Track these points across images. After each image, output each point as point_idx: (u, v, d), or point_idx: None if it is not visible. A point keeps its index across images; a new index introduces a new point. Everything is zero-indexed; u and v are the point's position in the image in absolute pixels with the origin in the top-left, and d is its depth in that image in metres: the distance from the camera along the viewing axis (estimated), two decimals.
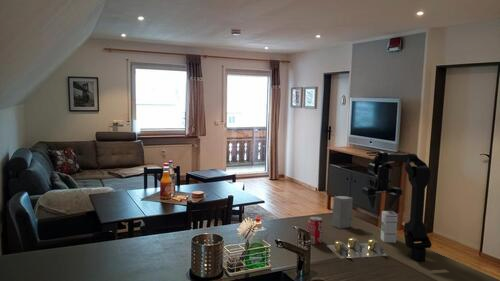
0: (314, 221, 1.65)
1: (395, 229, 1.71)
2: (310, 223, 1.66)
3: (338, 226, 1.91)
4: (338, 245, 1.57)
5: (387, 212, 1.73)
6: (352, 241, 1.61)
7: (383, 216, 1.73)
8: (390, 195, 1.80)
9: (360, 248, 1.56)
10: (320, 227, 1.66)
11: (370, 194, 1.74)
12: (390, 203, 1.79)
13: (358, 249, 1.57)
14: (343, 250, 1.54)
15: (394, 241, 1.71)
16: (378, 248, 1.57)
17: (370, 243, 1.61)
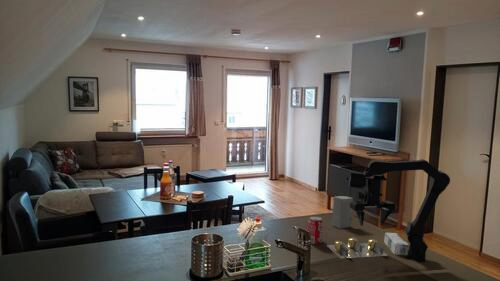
0: (314, 221, 1.65)
1: None
2: (310, 223, 1.66)
3: (338, 226, 1.91)
4: (338, 245, 1.57)
5: (399, 250, 1.57)
6: (352, 241, 1.61)
7: (393, 248, 1.59)
8: (382, 210, 1.58)
9: (360, 248, 1.56)
10: (320, 227, 1.66)
11: (358, 209, 1.52)
12: (382, 219, 1.57)
13: (358, 249, 1.57)
14: (343, 250, 1.54)
15: None
16: (378, 248, 1.57)
17: (370, 243, 1.61)
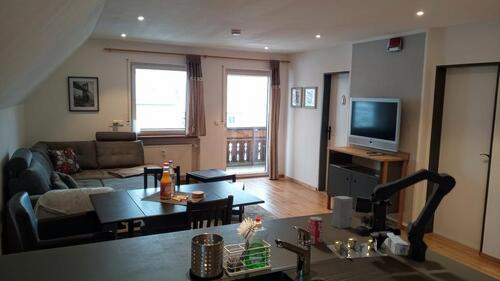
0: (314, 221, 1.65)
1: None
2: (310, 223, 1.66)
3: (338, 226, 1.91)
4: (338, 245, 1.57)
5: (399, 250, 1.57)
6: (352, 241, 1.61)
7: (393, 248, 1.59)
8: (378, 235, 1.57)
9: (360, 248, 1.56)
10: (320, 227, 1.66)
11: (364, 235, 1.52)
12: None
13: (358, 249, 1.57)
14: (343, 250, 1.54)
15: None
16: (380, 248, 1.57)
17: (371, 243, 1.60)
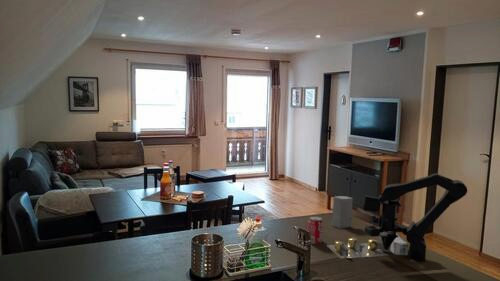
0: (314, 221, 1.65)
1: None
2: (310, 223, 1.66)
3: (338, 226, 1.91)
4: (338, 245, 1.57)
5: (399, 250, 1.57)
6: (352, 241, 1.61)
7: (393, 248, 1.59)
8: None
9: (360, 248, 1.56)
10: (320, 227, 1.66)
11: (374, 235, 1.53)
12: None
13: (358, 249, 1.57)
14: (343, 250, 1.54)
15: None
16: None
17: (374, 244, 1.60)
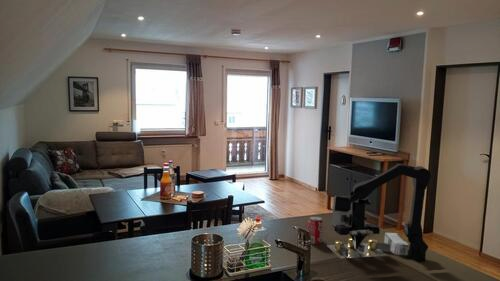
0: (314, 221, 1.65)
1: None
2: (310, 223, 1.66)
3: None
4: (338, 245, 1.57)
5: (399, 250, 1.57)
6: None
7: (393, 248, 1.59)
8: (357, 234, 1.58)
9: (362, 248, 1.57)
10: (320, 227, 1.66)
11: (343, 234, 1.53)
12: None
13: (360, 249, 1.57)
14: (343, 250, 1.54)
15: None
16: (386, 246, 1.59)
17: (374, 244, 1.60)
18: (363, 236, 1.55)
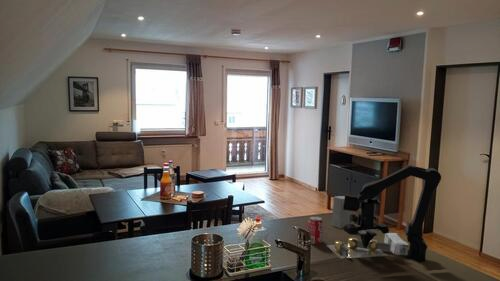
0: (314, 221, 1.65)
1: None
2: (310, 223, 1.66)
3: (338, 226, 1.91)
4: (338, 245, 1.57)
5: (399, 250, 1.57)
6: (356, 241, 1.62)
7: (393, 248, 1.59)
8: (366, 233, 1.59)
9: (369, 245, 1.60)
10: (320, 227, 1.66)
11: (352, 233, 1.54)
12: None
13: (367, 247, 1.60)
14: (343, 250, 1.54)
15: None
16: (386, 246, 1.59)
17: (374, 244, 1.60)
18: (372, 235, 1.56)
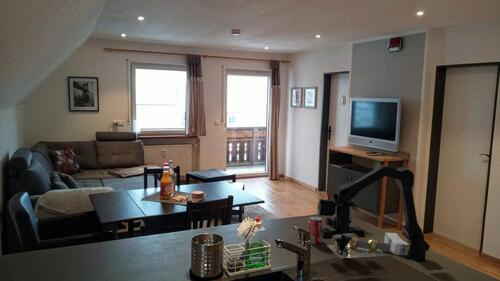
0: (314, 221, 1.65)
1: None
2: (310, 223, 1.66)
3: None
4: None
5: (399, 250, 1.57)
6: (356, 241, 1.62)
7: (393, 248, 1.59)
8: (342, 237, 1.54)
9: (369, 245, 1.60)
10: (320, 227, 1.66)
11: (326, 237, 1.48)
12: None
13: (367, 247, 1.60)
14: (343, 250, 1.54)
15: None
16: (386, 246, 1.59)
17: (374, 244, 1.60)
18: (348, 240, 1.50)
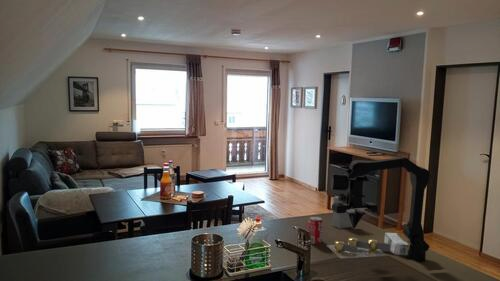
0: (314, 221, 1.65)
1: None
2: (310, 223, 1.66)
3: (338, 226, 1.91)
4: (342, 245, 1.57)
5: (399, 250, 1.57)
6: (356, 241, 1.62)
7: (393, 248, 1.59)
8: (355, 212, 1.54)
9: (369, 245, 1.60)
10: (320, 227, 1.66)
11: (340, 211, 1.48)
12: None
13: (367, 247, 1.60)
14: (351, 248, 1.56)
15: None
16: (386, 246, 1.59)
17: (374, 244, 1.60)
18: (361, 214, 1.51)
